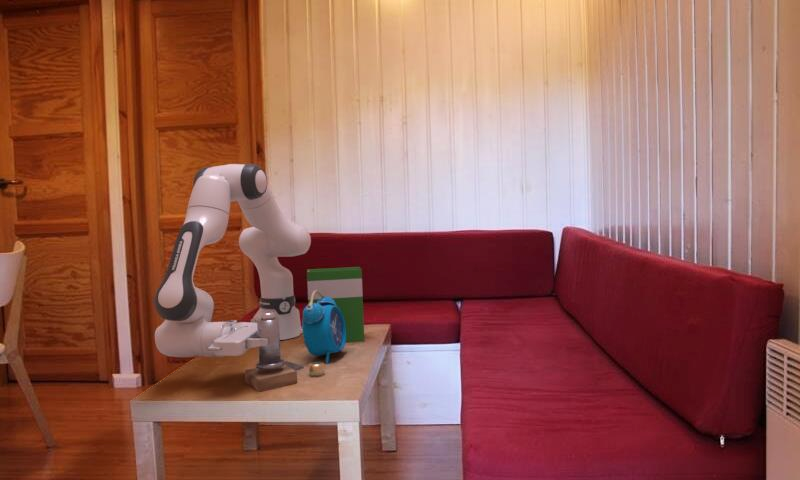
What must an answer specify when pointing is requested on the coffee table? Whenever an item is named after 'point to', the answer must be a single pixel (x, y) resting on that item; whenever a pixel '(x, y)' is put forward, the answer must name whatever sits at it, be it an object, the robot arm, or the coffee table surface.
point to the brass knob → (316, 369)
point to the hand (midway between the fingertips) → (272, 338)
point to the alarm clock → (323, 327)
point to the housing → (271, 352)
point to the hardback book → (341, 296)
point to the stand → (270, 377)
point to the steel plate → (293, 365)
